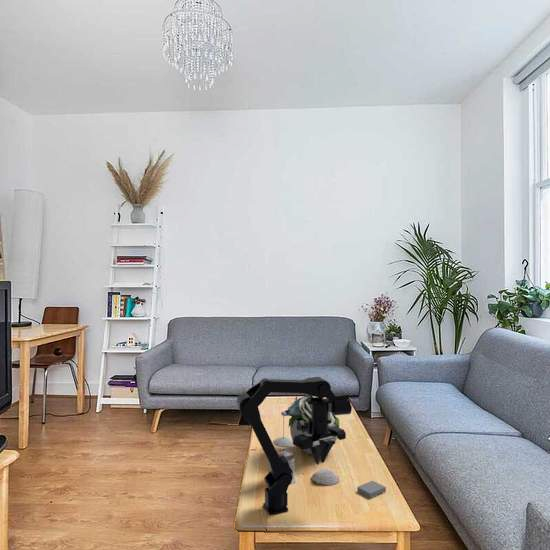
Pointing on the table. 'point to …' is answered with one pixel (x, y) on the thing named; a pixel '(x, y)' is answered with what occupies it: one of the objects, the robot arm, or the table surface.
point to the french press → (287, 453)
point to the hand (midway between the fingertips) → (319, 463)
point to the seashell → (325, 477)
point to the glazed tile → (371, 489)
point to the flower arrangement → (305, 417)
